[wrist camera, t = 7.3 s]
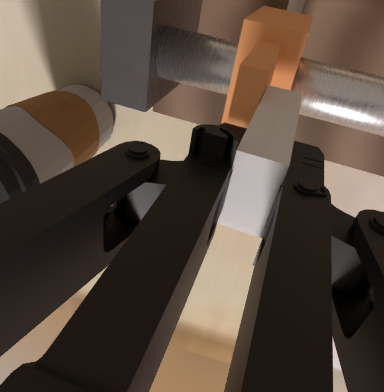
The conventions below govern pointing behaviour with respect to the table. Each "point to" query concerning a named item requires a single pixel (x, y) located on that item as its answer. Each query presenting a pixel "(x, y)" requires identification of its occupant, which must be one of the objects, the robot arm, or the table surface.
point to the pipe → (214, 65)
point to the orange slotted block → (264, 59)
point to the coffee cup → (50, 136)
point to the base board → (314, 49)
